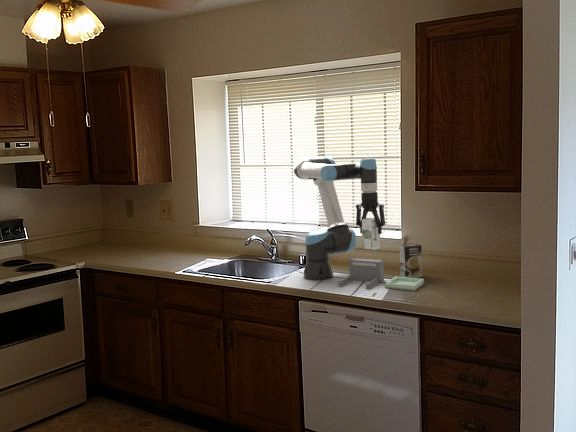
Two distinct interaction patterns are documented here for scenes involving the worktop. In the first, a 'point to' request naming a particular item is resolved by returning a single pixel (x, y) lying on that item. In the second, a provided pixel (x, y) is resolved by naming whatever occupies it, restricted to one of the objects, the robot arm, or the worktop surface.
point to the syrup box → (369, 234)
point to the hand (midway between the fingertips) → (371, 240)
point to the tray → (404, 283)
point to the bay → (365, 271)
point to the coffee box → (410, 260)
